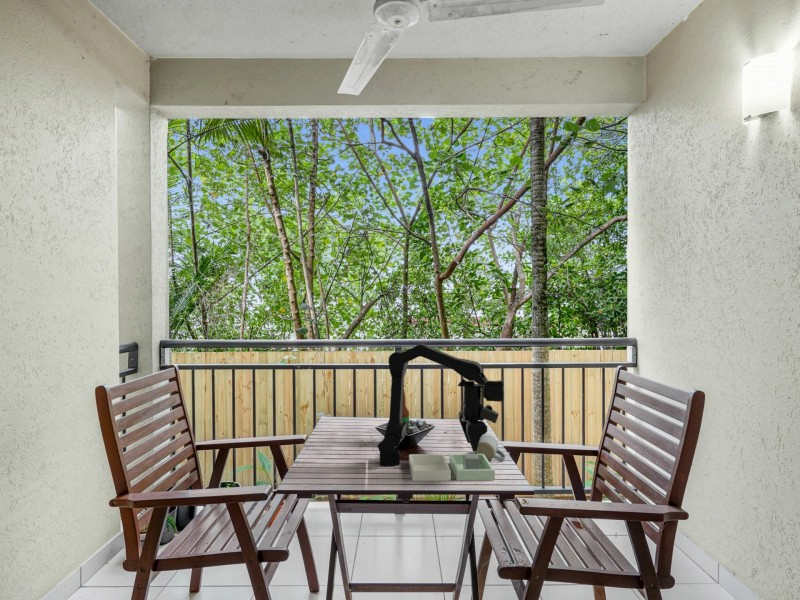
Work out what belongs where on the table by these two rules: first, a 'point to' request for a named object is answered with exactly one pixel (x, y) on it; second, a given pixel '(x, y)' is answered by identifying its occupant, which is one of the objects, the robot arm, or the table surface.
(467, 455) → the stone block
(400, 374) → the robot arm
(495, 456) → the ceramic mug
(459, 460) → the green bin
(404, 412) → the bottle
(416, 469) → the cream bin
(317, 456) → the table surface
